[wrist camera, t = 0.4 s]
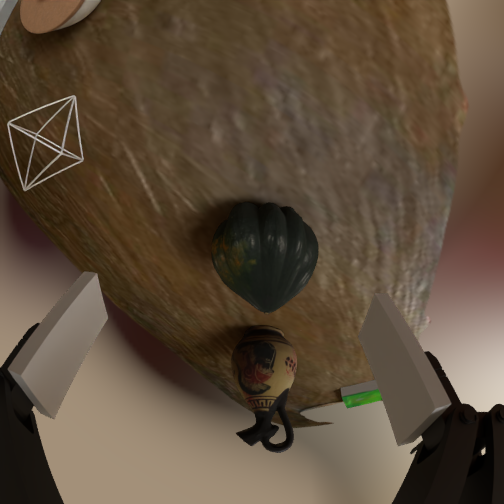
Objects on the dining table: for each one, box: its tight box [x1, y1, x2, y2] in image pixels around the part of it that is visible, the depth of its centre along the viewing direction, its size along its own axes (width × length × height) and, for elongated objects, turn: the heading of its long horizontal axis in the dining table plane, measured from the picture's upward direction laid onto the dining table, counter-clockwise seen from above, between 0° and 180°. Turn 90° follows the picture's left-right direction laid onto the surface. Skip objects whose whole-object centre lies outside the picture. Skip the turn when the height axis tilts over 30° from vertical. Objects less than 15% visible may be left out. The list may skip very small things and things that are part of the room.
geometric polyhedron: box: [7, 95, 84, 191], centre depth 27 cm, size 12×11×9 cm
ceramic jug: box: [231, 326, 297, 453], centre depth 56 cm, size 17×15×30 cm
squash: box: [211, 202, 318, 314], centre depth 40 cm, size 14×15×15 cm
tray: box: [341, 380, 382, 408], centre depth 104 cm, size 25×25×5 cm
